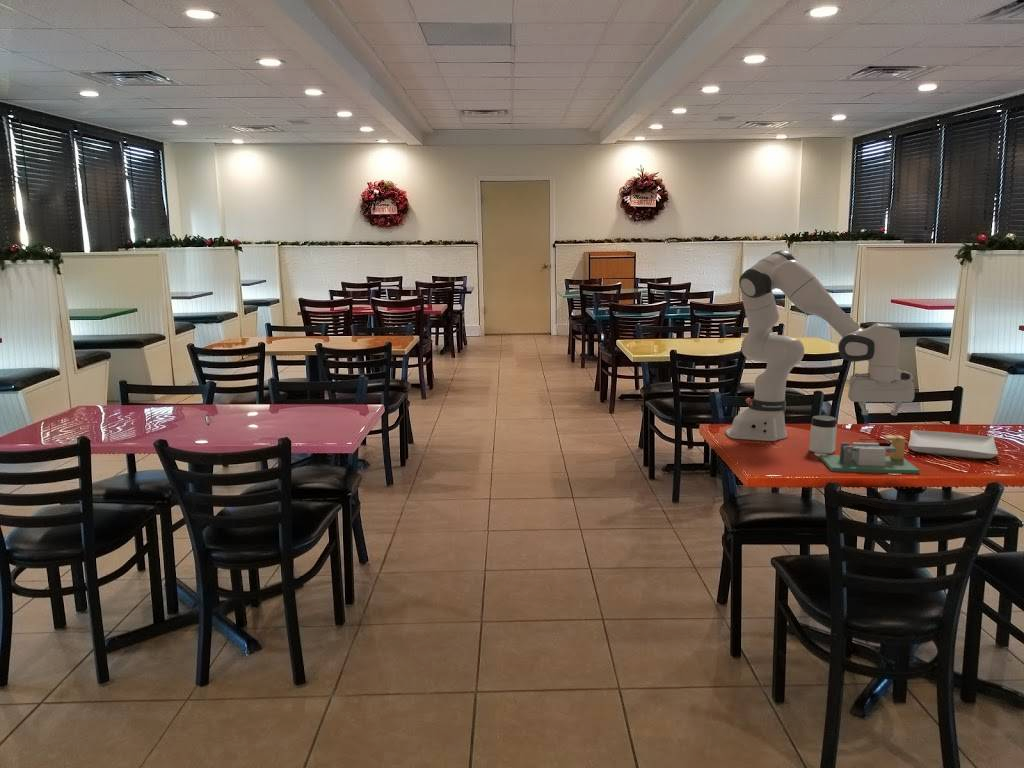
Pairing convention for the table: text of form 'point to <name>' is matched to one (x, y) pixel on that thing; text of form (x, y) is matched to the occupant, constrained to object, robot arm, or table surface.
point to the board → (864, 468)
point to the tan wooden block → (896, 446)
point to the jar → (823, 434)
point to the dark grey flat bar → (888, 449)
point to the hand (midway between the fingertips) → (879, 414)
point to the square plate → (952, 444)
